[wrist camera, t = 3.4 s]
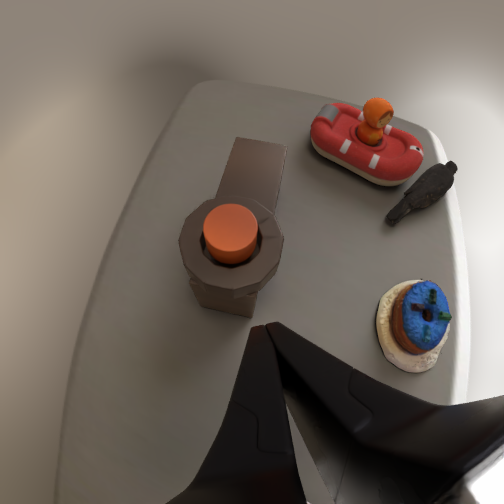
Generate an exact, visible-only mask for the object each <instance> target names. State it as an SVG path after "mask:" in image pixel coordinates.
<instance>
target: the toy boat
mask: <svg viewBox="0 0 504 504" xmlns="http://www.w3.org/2000/svg"><path fill="white" fill-rule="evenodd" d="M393 113H394V111H393V108H392V106H391V105H390V103H389V102H387V101H386V100H384V99H382V98H372V99H370V100H369V101H367V102H366V104H365V105H364V108H363V112H362V111H360V110H358V109H356V108H354V107H352V106H350V105H347V104H343V103H333V104H326V105H325V106H324V107H323V108H322V109H321V111H320V112H319V113H318V115H317V116H316V118H315V119H314V121H313V122H312V124H311V131H310V134H311V141H312V144H313V147H314V148H315V149H316V151H317V152H318V153H319V154H321V155H322V156H324V157H326V158H328V159H330V160H332V161H334V162H335V163H337V164H339V165H341V166H343V167H345V168H347V169H349V170H351V171H352V172H354V173H356V174H358V175H360V176H362V177H363V178H365V179H367V180H369V181H371V182H373V183H375V184H378V185H382V186H395V185H399V184H402V183H404V182H405V181H407V180H408V179H409V178H410V177H411V176H412V175H413V174H414V173H415V172H416V171H417V170H418V168H419V166H420V165H421V163H422V160H423V148H422V145H421V144H420V142H419V141H418V140H417V139H416V138H415V137H414V136H413V135H411V134H409V133H407V132H405V131H402V130H399V129H396V128H394V127H392V126H390V125H388V123H389V122H390V120H391V119H392V117H393Z"/></svg>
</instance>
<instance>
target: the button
mask: <svg viewBox="0 0 504 504" xmlns="http://www.w3.org/2000/svg"><path fill="white" fill-rule="evenodd" d="M257 231H258V224H257V220H256V218H255V216H254V215H253V213H252V212H251V211H250V210H248V209H247V208H245V207H243V206H241V205H238V204H224V205H220V206H218V207H216V208H214V209H213V210H212V211H211V212H210V213H209V214H208V215H207V217H206V218H205V221H204V224H203V233H204V238H205V242H206V246H207V249H208V252H209V253H210V255H211V256H212V257H213V258H214V259H216V260H217V261H219V262H221V263H225V264H237V263H240V262H243V261H245V260H246V259H248V258H249V257H250V256H251V255H252V253H253V252H254V250H255V247H256V240H257Z"/></svg>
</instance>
